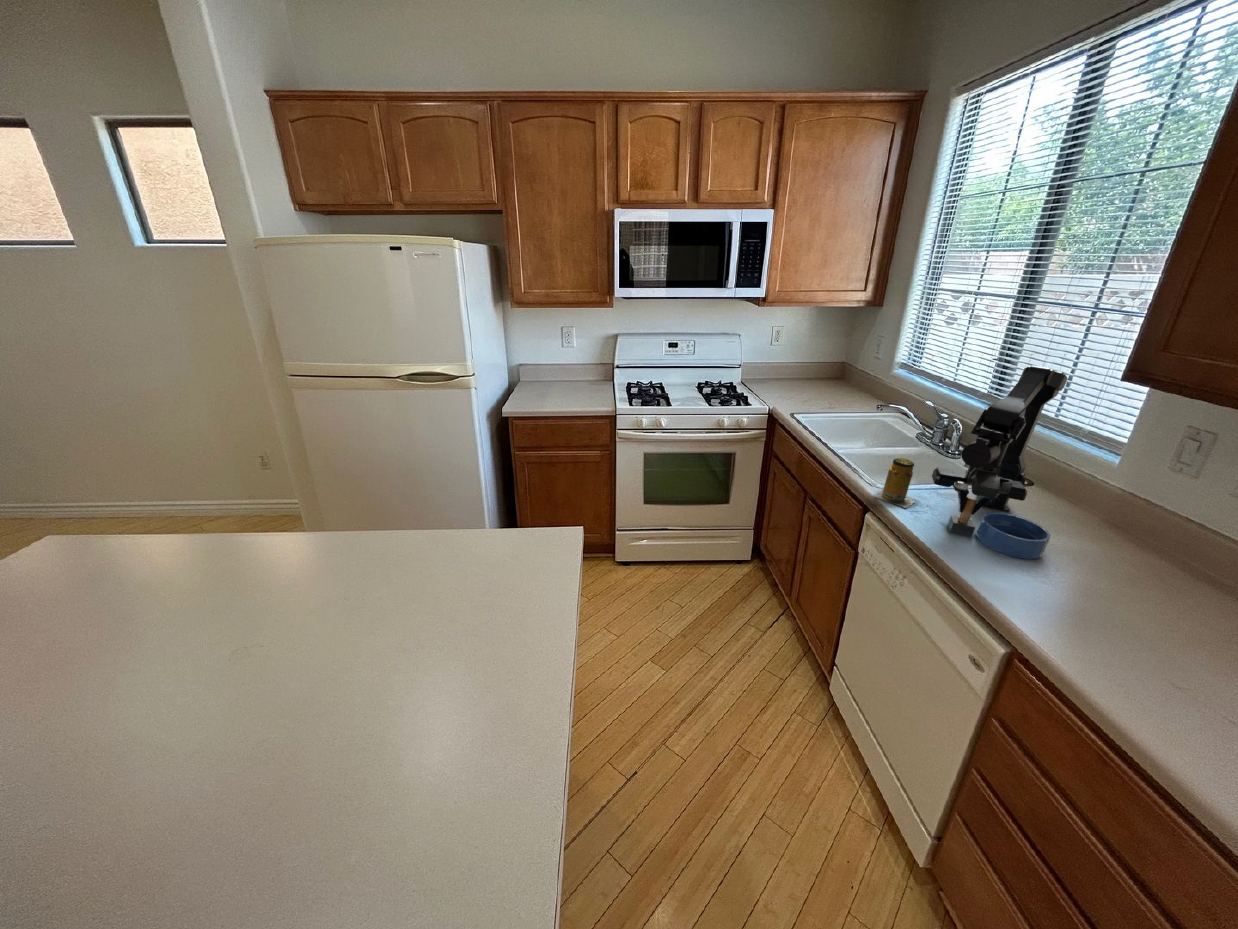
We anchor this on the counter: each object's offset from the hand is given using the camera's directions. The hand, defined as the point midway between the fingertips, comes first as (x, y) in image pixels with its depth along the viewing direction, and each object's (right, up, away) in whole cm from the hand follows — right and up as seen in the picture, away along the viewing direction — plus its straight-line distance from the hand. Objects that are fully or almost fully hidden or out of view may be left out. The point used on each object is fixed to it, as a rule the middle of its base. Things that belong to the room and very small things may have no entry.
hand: (966, 512), depth 122 cm
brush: (0, -5, +2) cm, 6 cm away
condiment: (-8, +2, +17) cm, 19 cm away
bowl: (+8, -8, -3) cm, 12 cm away
